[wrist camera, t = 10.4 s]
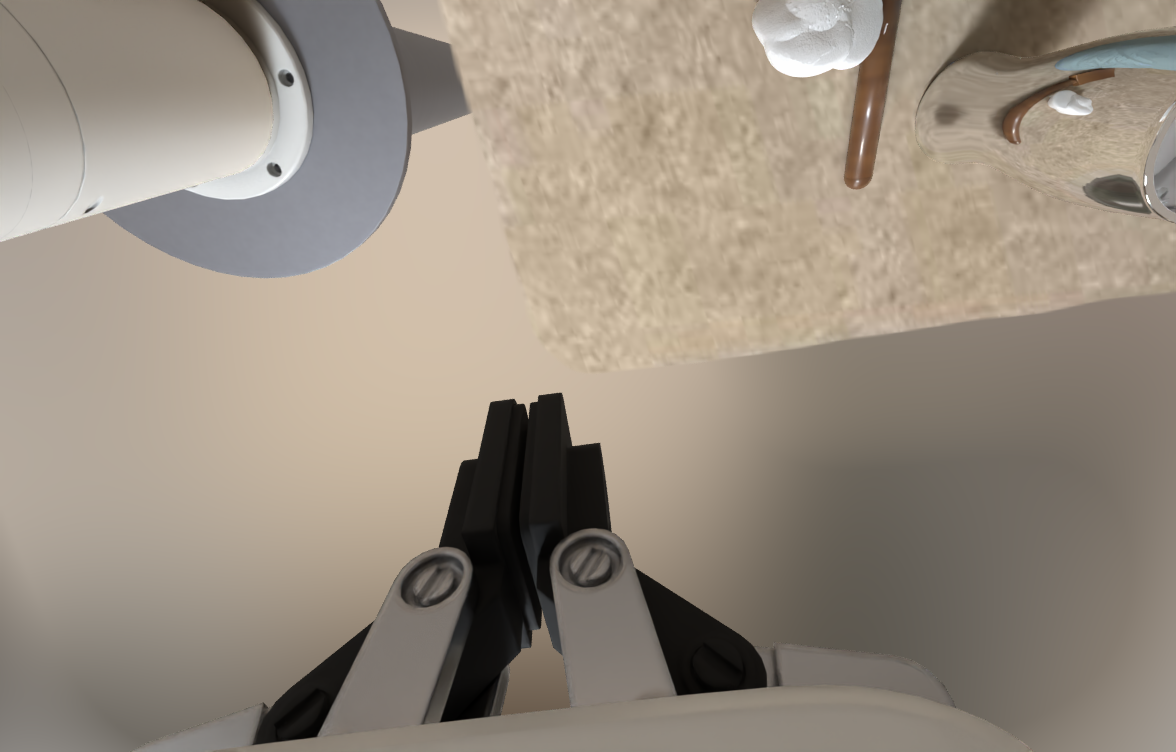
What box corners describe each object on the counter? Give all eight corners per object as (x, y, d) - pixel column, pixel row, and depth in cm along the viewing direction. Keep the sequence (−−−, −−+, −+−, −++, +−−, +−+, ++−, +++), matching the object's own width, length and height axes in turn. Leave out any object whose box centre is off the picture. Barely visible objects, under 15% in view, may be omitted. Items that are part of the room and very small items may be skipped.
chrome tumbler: (1046, 100, 31) (1387, 118, 18) (944, 193, 34) (1179, 265, 21) (989, 12, 29) (1336, -42, 16) (884, 119, 31) (1108, 148, 18)
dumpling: (743, 91, 30) (753, 77, 27) (748, -13, 29) (759, -43, 25) (869, 81, 29) (897, 65, 26) (882, -28, 28) (914, -62, 24)
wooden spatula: (874, 183, 33) (888, 188, 32) (825, 189, 33) (836, 194, 32) (938, -184, 25) (960, -200, 23) (871, -175, 25) (889, -190, 23)
